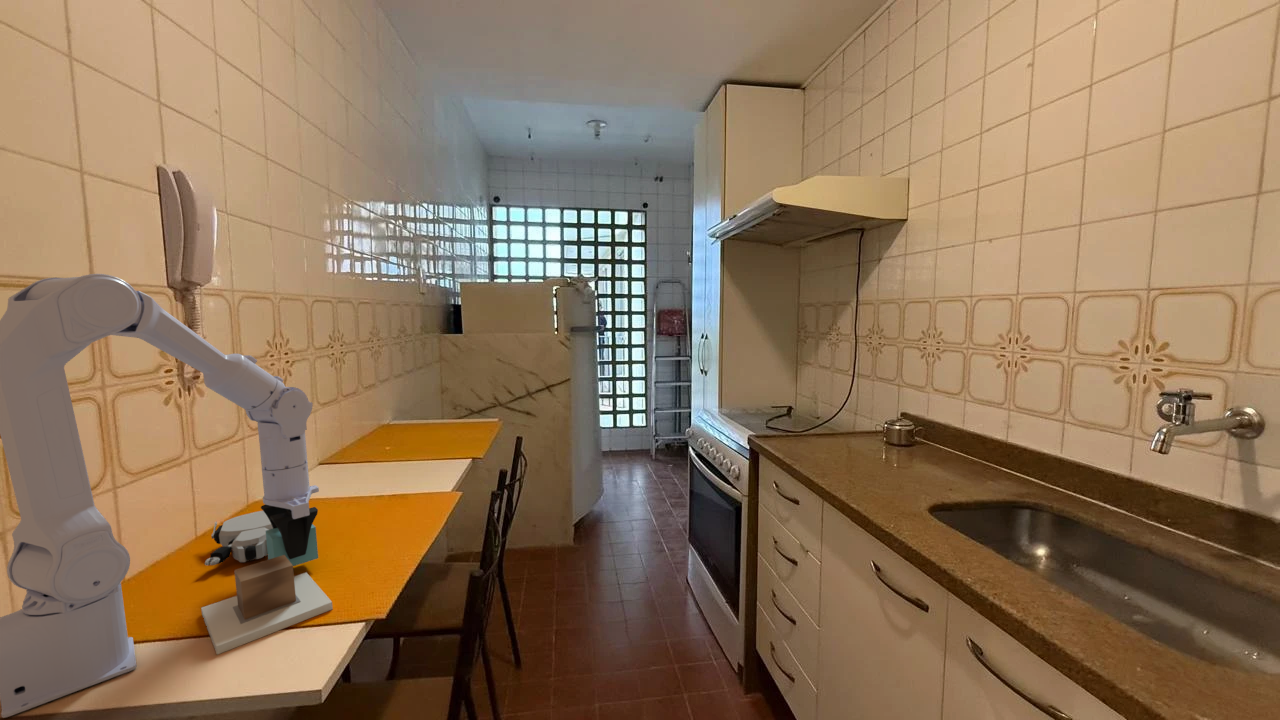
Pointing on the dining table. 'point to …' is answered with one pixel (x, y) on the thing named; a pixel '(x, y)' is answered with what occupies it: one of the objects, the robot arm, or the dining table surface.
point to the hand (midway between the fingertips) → (292, 551)
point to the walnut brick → (265, 586)
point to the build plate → (262, 616)
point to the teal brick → (278, 549)
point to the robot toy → (241, 538)
